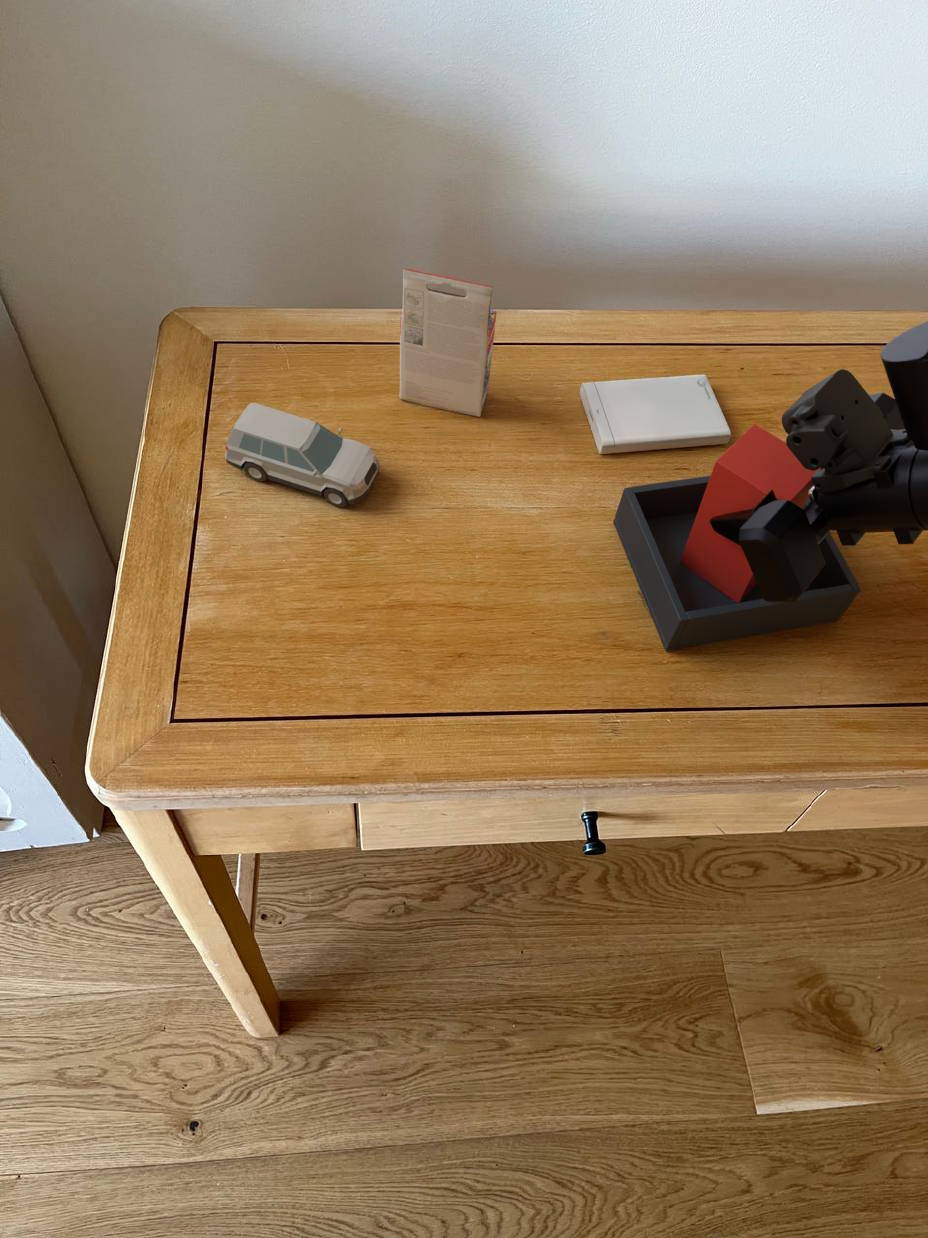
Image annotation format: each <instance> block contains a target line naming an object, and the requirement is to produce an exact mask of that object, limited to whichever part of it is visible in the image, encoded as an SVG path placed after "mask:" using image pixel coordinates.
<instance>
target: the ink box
mask: <svg viewBox="0 0 928 1238" xmlns="http://www.w3.org/2000/svg"><path fill="white" fill-rule="evenodd" d="M429 284H431V285H436V286H442V285H444V284H446V285H449V286H451V289H455V290H456V289H457V290H460V291H464V292H465V293H466V295H460V294H456V293H451V292H445V291H442V290H441V291H440V290H437V289H431V288H429V287H428V285H429ZM493 288H494V287H493V286H492V285H488V284H482V283H477V282H472V281H468V280H463V279H459V278H454V277H449V276H445V275H439V274H434V273H429V272H424V271H420V270H415V269H410V268H406V267H403V268H402V312H401V315H400V317H399V318H400V319H399V323H400V324H399V328H400V329H399V399H400V400H402V401H405V402H408V403H413V404H417V405H422V406H426V407H431V408H435V409H440V410H445V411H449V412H454V413H459V414H462V415H463V414H464V415H469V416H473V417H478V418H480V417H482V411H483V409H484V405H485V402H486V399H487V395H488V392H489V391H488V390H489V383H490V374H491V368H492V367H491V366H492V357H493V348H494V338H495V331H496V330H495V329H496V324H497V323H496V322H497V310H492V309H491V303H492V296H493Z"/></svg>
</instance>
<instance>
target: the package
mask: <svg viewBox="0 0 928 1238" xmlns="http://www.w3.org/2000/svg"><path fill="white" fill-rule="evenodd" d="M822 469H823V468H819V469H817V470H822ZM817 470H815V471H812V470H808V469H806V468H804V467H803V465H802V464H801V463H800V462H799V460H798V459H797V458H796V457H795V455H794V454H793V453H792V452H791V450H790V449H789V448H788V447H787V445H786V441H784V440H782V439H780V438H779V437H777V436H776V435H774V434H772V433H771V432H769V431H768V430H766V429H764V428H762V427H761V426H759V425H758V424H756V423H753V425H752V426H751V427H750V428H748V429H747V431H746V432H744V433H743V434H742V435H741V436H739V438H738V439H737V440H736V441H735V442H734V443H733V444H732V445H731V446H730V447H729V448H727V450H726V451H725V452H723V454H721V456H719V457H718V458H717V459H716V460H715V463H714V466H713V468H712V471H711V474H710V475H709V476H710V479H709V482H708V485H707V488H706V490H705V493H704V496H703V499H702V502H701V504H700V507H699V510H698V513H697V516H696V519H695V521H694V524H693V527H692V530H691V533H690V535H689V538H688V541H687V544H686V547H685V549H684V552H683V555H682V558H681V561H680V563H681V564H682V565H684V566H685V567H687V568H688V569H689V570H691V571H692V572H694V573H695V574H697V575H698V576H700V577H701V578H702V579H704V580H705V581H707V582H708V583H710V584H711V585H712V586H714V587H715V588H717V589H718V590H720V591H721V592H722V593H724V594H725V595H727V596H728V597H730V598H731V599H732V600H734V601H735V602H737V603H740V602H741V601H742V600H743V599H744V598H745V597H746V596H747V594H748V593H749V592H750V591H751V590H752V589H753V588H754V587H755V586H756V585H757V582H756V580H755V577H754V575H753V573H752V570H751V568H750V566H749V564H748V561H747V559H746V557H745V555H744V552H743V550H742V548H741V546H740V545H738V544H736V543H734V542H733V541H731V540H729V539H727V538H725V537H723V536H722V535H720V534H718V533H716V532H715V531H714V530H713V528H712V526H711V524H710V520H711V519H712V518H713V517H716V516H720V515H724V514H728V513H733V512H738V511H743V510H748V509H754V508H755V507H756V506H757V505H758V503H759V502H760V501H761V500H762V499H763V498H764V497H765V496H766V495H767V494H768V492H769V491H770V490H773V491H774V494H775V496H776V499H777V500H789V501H791V502H792V503H794V504H796V505H797V506H799V507H800V508H802V509H803V507H804V505H805V503H806V501H807V499H808V497H809V495H808V492H809V490H810V489H811V488H812V487H813V482H812V479H811V477H812V476H813V474H814V473H815V472H816V471H817Z"/></svg>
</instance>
